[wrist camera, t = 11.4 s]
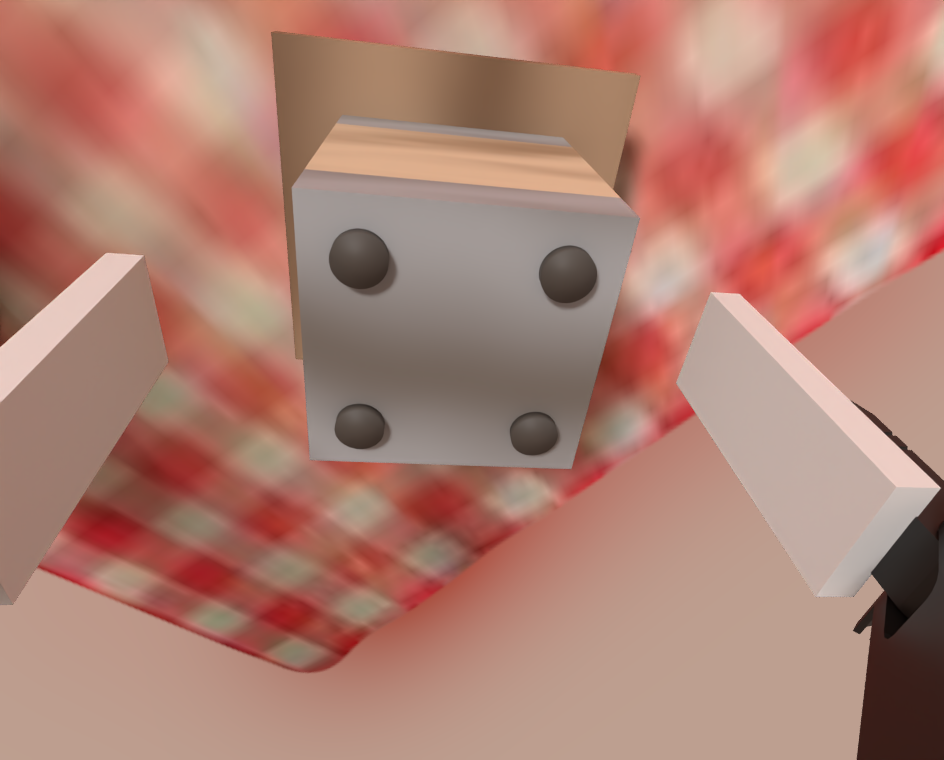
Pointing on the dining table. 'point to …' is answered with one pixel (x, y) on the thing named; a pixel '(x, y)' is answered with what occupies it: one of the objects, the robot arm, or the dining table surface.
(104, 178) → the dining table surface
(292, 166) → the stand
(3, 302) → the dining table surface
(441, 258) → the housing
